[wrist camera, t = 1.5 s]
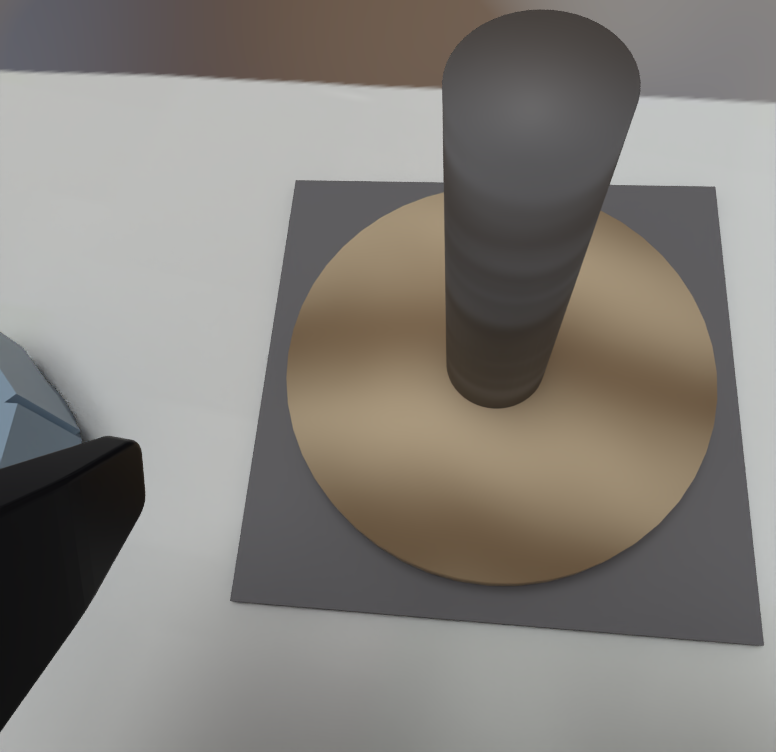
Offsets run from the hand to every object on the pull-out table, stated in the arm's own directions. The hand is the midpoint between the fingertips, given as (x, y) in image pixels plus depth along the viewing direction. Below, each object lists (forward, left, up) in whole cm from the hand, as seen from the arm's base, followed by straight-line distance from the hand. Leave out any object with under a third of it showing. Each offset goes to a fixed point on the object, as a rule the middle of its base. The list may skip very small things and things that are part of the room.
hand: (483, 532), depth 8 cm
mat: (+7, -1, -13) cm, 14 cm away
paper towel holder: (+7, -1, -12) cm, 14 cm away
